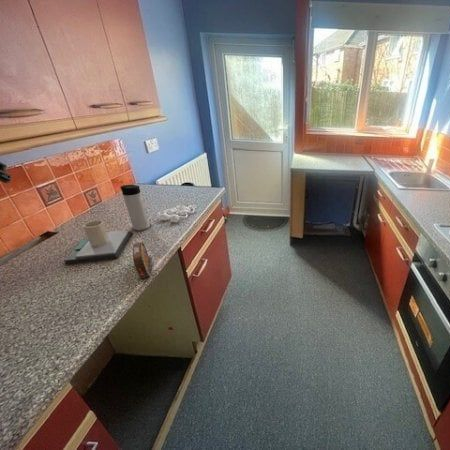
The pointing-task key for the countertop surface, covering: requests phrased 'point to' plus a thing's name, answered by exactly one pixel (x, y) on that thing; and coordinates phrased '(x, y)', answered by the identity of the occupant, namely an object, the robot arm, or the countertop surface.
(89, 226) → the pot
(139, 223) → the travel mug
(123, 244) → the scale
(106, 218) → the countertop surface
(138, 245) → the tin
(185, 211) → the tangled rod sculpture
